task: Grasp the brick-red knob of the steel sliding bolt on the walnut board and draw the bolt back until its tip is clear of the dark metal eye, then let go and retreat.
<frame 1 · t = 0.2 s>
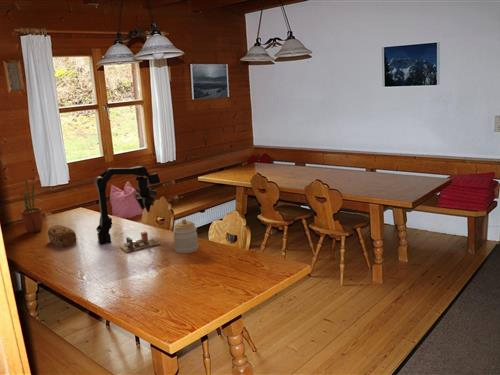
hand: (145, 210, 300), 14 cm above the table, fingers open, 9 cm apart
latch board: (140, 246, 277), on the table
bolt: (135, 239, 275), point 5 cm above the table, slide at 0.0 cm
jar: (187, 250, 266), on the table
potted plant: (36, 232, 323), on the table
bread: (63, 243, 295), on the table
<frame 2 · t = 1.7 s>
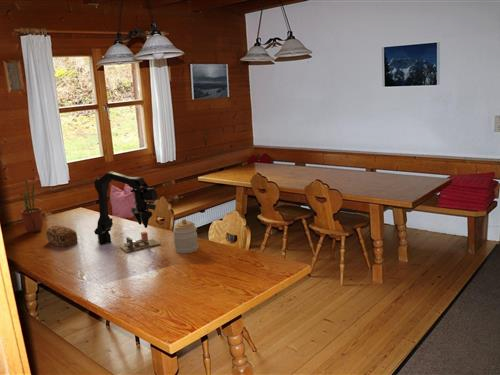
hand: (143, 226, 276), 12 cm above the table, fingers open, 9 cm apart
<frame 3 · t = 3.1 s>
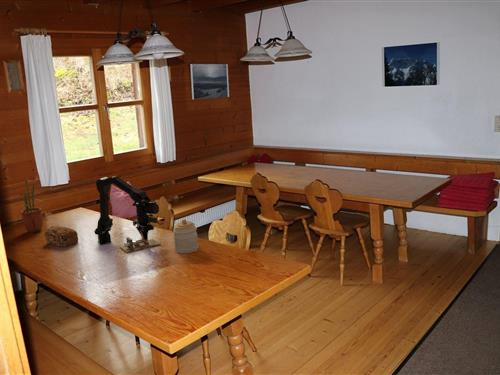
hand: (144, 239, 278), 4 cm above the table, fingers closed on bolt, 3 cm apart
bolt: (135, 239, 275), point 5 cm above the table, slide at 0.0 cm, touching gripper
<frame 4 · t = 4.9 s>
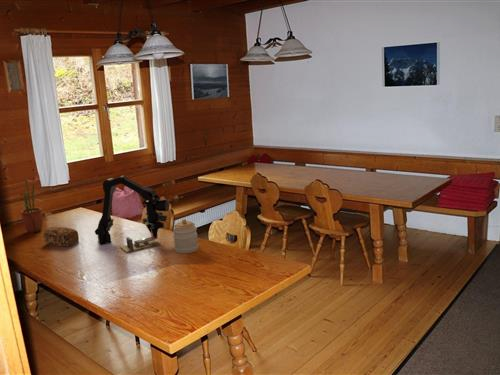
hand: (154, 236, 281), 4 cm above the table, fingers closed on bolt, 3 cm apart
bolt: (145, 236, 278), point 5 cm above the table, slide at 5.9 cm, touching gripper
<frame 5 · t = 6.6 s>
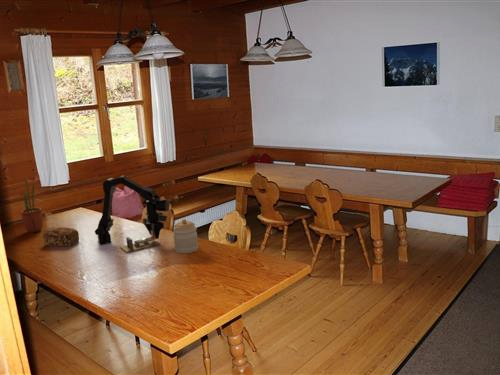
hand: (154, 236, 281), 4 cm above the table, fingers open, 9 cm apart
bolt: (145, 236, 278), point 5 cm above the table, slide at 6.0 cm
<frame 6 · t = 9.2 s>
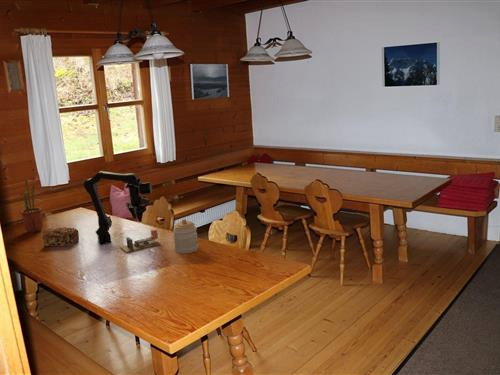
hand: (137, 220, 286), 13 cm above the table, fingers open, 9 cm apart
at the end: bolt slide at 6.0 cm; the gripper is holding nothing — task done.
